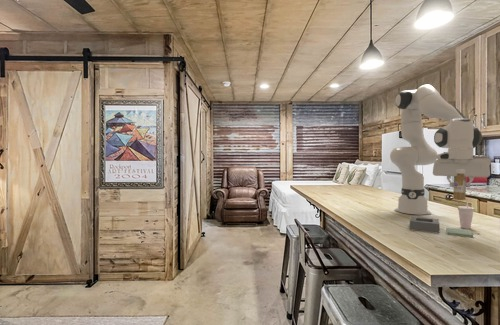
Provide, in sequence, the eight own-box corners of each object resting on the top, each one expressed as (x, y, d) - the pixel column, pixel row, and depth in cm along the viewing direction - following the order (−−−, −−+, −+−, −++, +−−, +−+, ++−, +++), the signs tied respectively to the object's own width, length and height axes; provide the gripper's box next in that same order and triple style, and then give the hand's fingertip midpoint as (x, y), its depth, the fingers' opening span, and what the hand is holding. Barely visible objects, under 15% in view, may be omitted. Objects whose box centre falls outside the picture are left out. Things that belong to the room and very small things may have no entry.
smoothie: (477, 229, 132) (477, 199, 131) (461, 229, 133) (462, 199, 132) (469, 226, 138) (470, 197, 137) (454, 225, 139) (455, 197, 139)
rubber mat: (445, 229, 132) (445, 227, 132) (470, 232, 128) (470, 230, 127) (447, 234, 125) (447, 232, 124) (473, 237, 120) (473, 235, 120)
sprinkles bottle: (450, 199, 126) (451, 168, 126) (456, 198, 129) (457, 168, 128) (462, 200, 122) (463, 169, 122) (468, 199, 125) (468, 169, 124)
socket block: (410, 224, 142) (411, 216, 142) (438, 227, 136) (438, 218, 136) (409, 229, 133) (410, 221, 132) (439, 233, 127) (439, 224, 127)
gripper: (489, 155, 122) (488, 187, 123) (432, 155, 133) (432, 184, 133) (492, 155, 117) (491, 189, 117) (433, 155, 127) (432, 186, 128)
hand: (459, 186), depth 125 cm, fingers closed on sprinkles bottle, 4 cm apart
